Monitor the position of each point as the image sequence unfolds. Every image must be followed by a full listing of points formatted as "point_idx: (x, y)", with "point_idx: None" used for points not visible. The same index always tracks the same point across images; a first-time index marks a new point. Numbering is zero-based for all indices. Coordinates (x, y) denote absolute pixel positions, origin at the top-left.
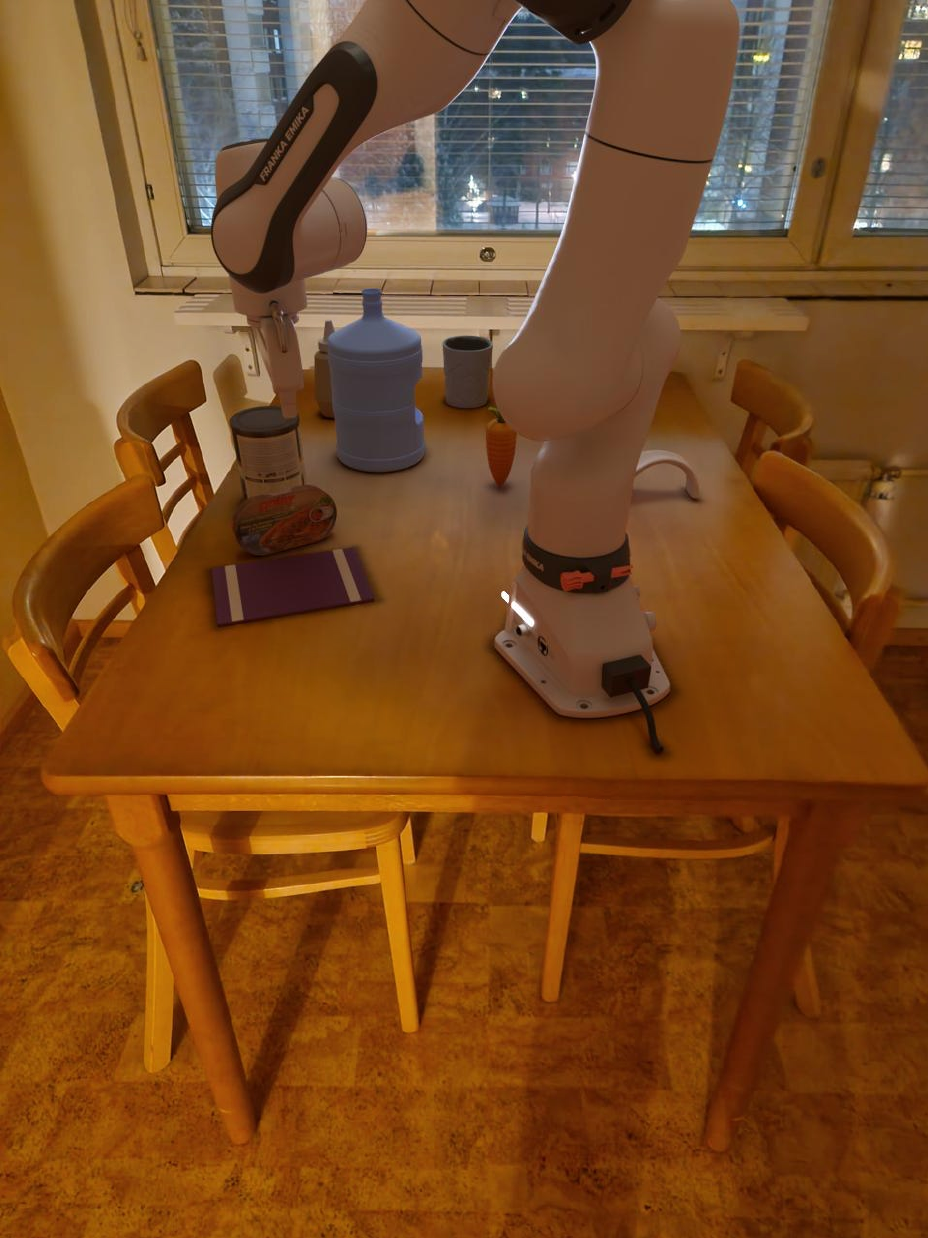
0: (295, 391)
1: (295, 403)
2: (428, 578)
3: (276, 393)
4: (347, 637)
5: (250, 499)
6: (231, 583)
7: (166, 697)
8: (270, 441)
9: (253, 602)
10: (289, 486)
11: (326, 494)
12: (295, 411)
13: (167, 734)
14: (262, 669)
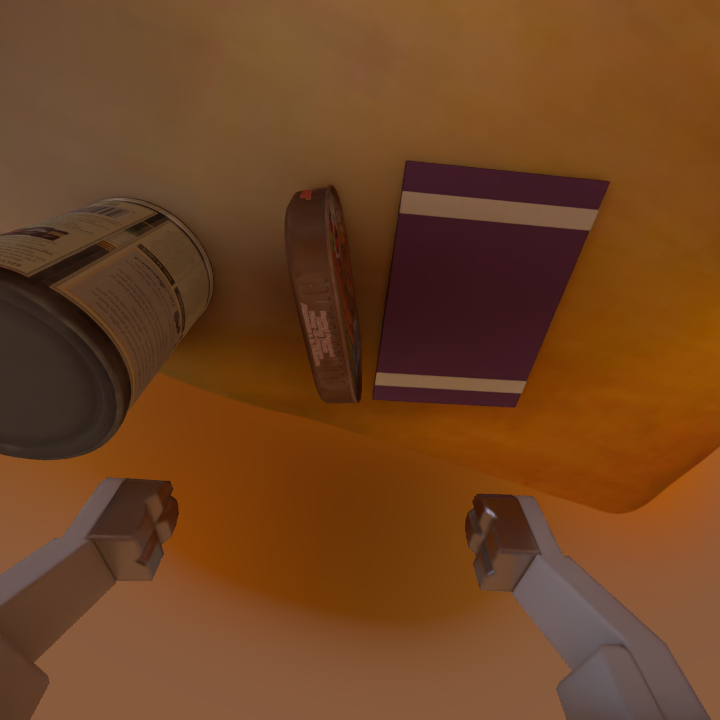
0: (670, 656)
1: (572, 559)
2: (616, 14)
3: (175, 514)
4: (661, 260)
5: (331, 390)
6: (428, 383)
7: (602, 454)
8: (134, 362)
9: (492, 364)
10: (179, 270)
11: (324, 217)
12: (543, 518)
13: (655, 456)
14: (634, 374)
